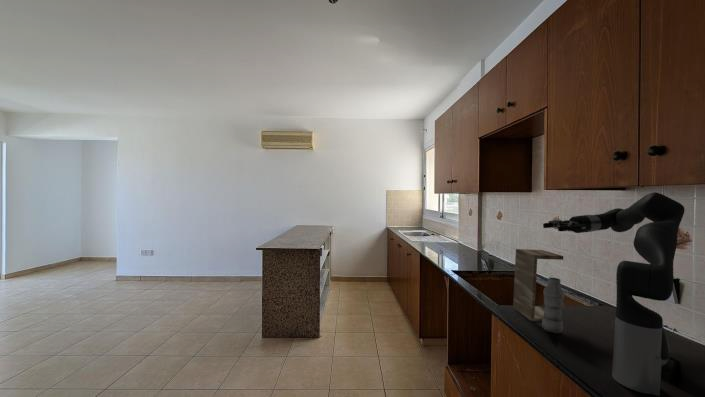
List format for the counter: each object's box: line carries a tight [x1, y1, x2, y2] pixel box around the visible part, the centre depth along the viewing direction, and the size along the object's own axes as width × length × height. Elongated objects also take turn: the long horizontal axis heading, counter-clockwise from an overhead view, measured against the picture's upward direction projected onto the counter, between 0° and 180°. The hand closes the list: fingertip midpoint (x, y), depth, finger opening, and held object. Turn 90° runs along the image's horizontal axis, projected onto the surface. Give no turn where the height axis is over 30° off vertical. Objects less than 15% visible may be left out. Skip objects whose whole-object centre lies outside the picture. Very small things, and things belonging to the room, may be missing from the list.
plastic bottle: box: [541, 277, 565, 334], centre depth 111 cm, size 6×7×20 cm
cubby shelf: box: [512, 248, 564, 322], centre depth 127 cm, size 12×13×27 cm
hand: (550, 227), depth 130 cm, fingers open, 8 cm apart
